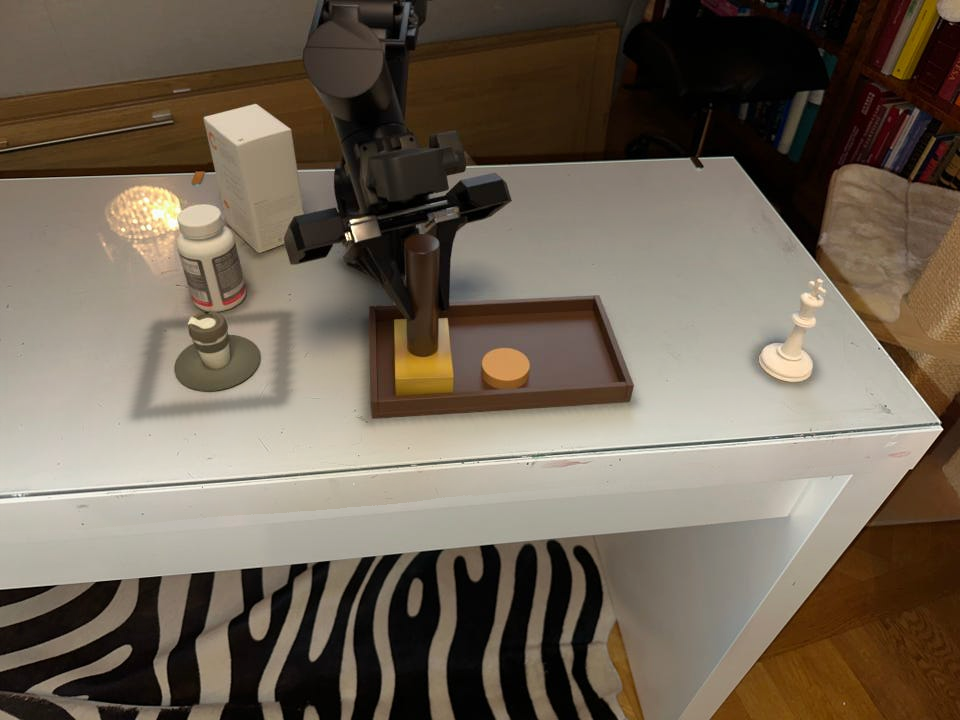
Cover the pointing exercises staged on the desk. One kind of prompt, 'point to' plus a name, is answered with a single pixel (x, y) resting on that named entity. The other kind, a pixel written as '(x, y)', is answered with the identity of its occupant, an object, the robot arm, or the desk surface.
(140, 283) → the desk surface
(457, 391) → the tray
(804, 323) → the chess piece
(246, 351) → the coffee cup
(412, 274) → the sponge wand
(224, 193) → the small box
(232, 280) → the pill bottle
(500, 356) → the disc
